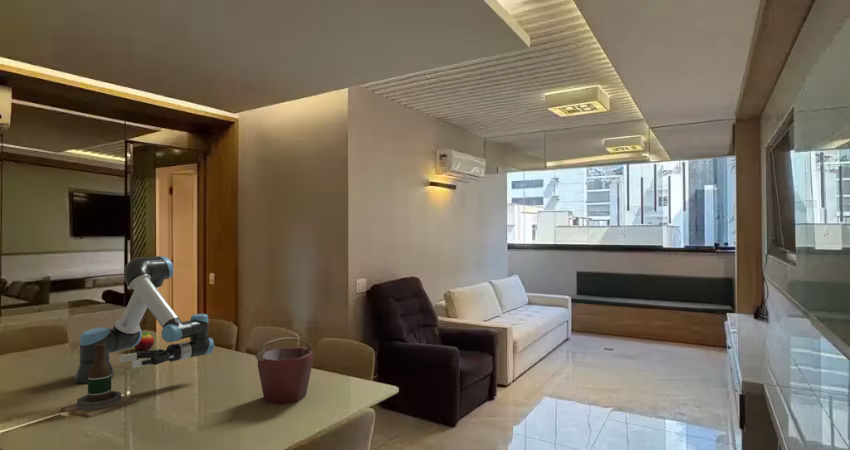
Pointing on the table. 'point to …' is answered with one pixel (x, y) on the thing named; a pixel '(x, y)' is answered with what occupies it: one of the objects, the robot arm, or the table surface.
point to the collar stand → (97, 405)
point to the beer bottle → (99, 376)
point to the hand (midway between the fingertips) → (125, 361)
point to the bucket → (284, 372)
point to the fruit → (145, 342)
